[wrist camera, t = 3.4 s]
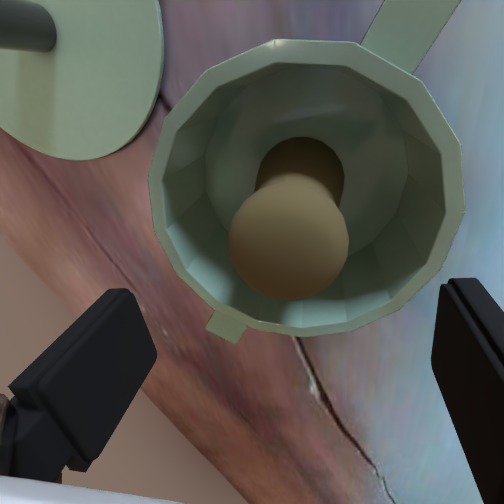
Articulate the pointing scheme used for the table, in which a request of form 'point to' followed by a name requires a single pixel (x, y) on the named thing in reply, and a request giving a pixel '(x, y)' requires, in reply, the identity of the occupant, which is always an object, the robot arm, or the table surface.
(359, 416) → the table surface
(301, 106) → the pot
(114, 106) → the lid
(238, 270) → the cork
